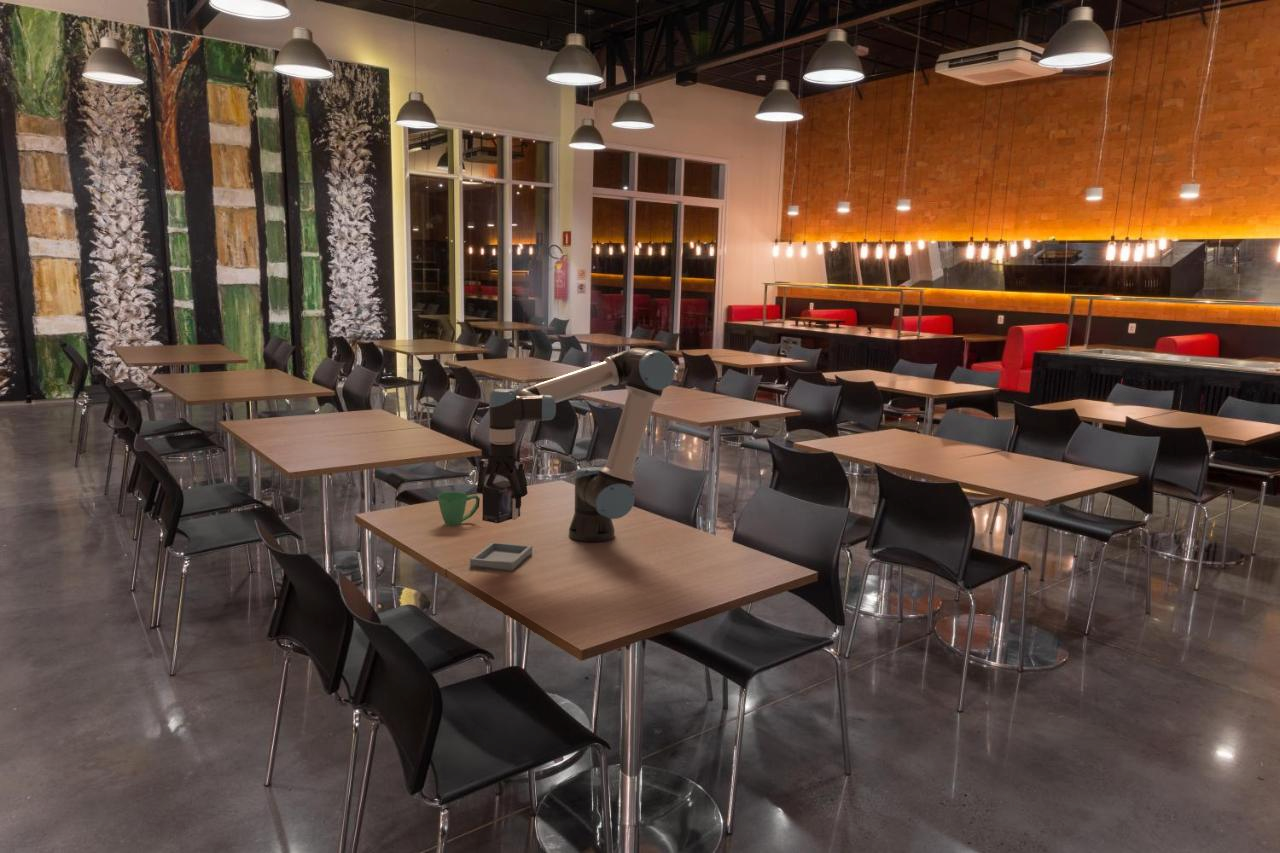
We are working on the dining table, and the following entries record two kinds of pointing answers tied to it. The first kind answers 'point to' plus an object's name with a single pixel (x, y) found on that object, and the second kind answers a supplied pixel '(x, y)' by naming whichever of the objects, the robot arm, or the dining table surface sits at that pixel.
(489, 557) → the tray
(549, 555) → the dining table surface
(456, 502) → the mug
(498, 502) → the small box
